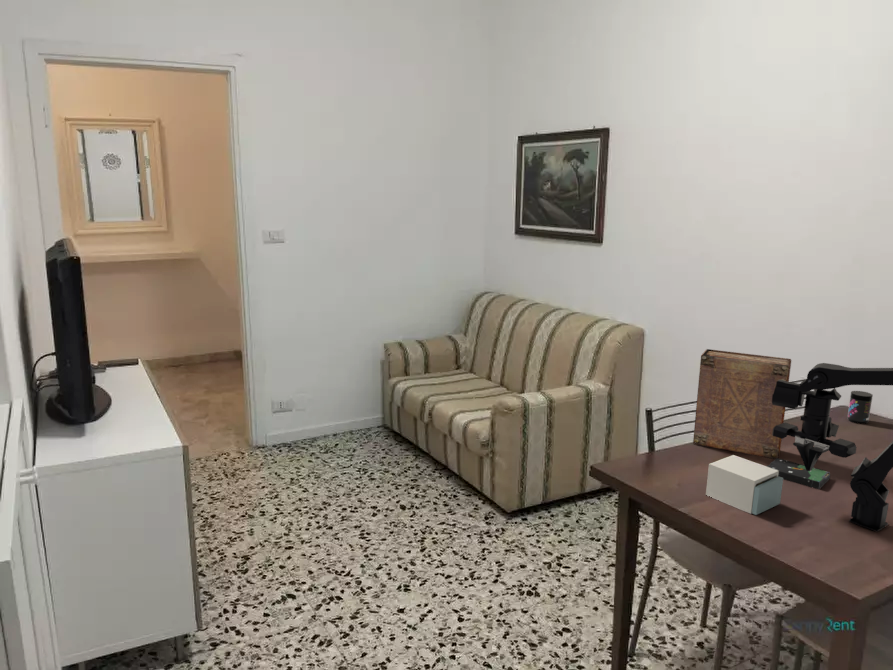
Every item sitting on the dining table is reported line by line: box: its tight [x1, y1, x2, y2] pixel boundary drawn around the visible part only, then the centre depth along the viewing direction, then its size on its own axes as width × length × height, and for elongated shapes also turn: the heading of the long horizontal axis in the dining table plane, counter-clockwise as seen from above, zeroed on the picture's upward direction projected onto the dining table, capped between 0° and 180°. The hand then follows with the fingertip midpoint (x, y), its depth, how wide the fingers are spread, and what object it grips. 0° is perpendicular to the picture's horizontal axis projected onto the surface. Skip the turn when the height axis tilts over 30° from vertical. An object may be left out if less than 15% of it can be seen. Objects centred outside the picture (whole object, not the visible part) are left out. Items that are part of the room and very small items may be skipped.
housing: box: [705, 454, 779, 515], centre depth 181 cm, size 13×11×9 cm
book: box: [692, 348, 792, 460], centre depth 215 cm, size 25×9×30 cm, turn 61°
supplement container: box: [846, 390, 873, 424], centre depth 245 cm, size 7×7×10 cm
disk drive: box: [765, 457, 831, 490], centre depth 197 cm, size 10×3×15 cm
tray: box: [752, 477, 784, 516], centre depth 180 cm, size 13×11×7 cm
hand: (808, 470), depth 176 cm, fingers closed
